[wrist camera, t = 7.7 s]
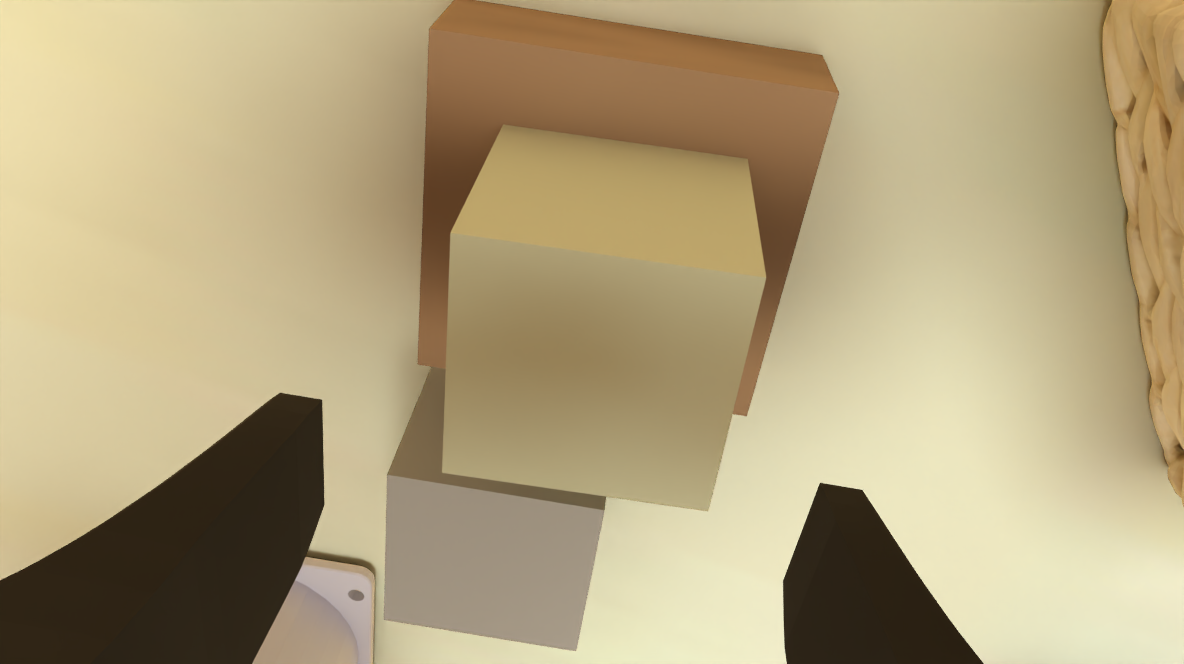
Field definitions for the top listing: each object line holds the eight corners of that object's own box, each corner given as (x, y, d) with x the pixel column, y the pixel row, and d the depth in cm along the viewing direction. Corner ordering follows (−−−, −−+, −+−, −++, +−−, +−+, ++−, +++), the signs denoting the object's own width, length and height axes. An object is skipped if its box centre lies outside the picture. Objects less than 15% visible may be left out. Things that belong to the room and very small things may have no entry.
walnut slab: (740, 346, 25) (746, 416, 22) (444, 300, 25) (417, 364, 22) (819, 49, 20) (838, 92, 18) (460, -7, 20) (429, 28, 18)
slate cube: (592, 514, 28) (576, 651, 24) (429, 487, 28) (383, 619, 24) (618, 382, 25) (604, 510, 21) (437, 352, 25) (386, 475, 21)
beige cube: (703, 361, 21) (708, 511, 17) (489, 330, 21) (442, 472, 17) (747, 158, 19) (766, 277, 14) (503, 124, 19) (449, 232, 14)
